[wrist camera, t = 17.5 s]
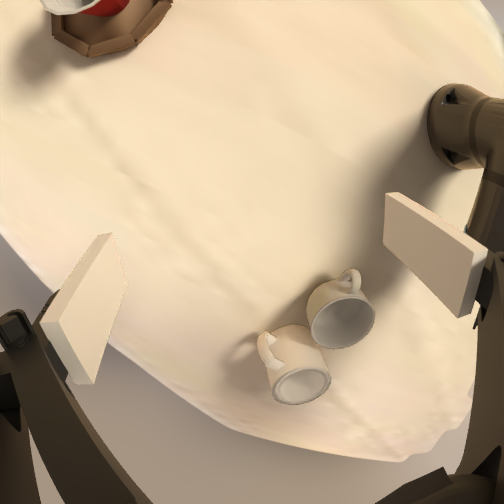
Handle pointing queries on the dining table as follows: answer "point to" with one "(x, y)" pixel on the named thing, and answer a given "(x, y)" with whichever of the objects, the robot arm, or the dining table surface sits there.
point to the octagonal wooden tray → (109, 27)
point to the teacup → (340, 312)
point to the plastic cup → (85, 7)
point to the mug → (293, 364)
